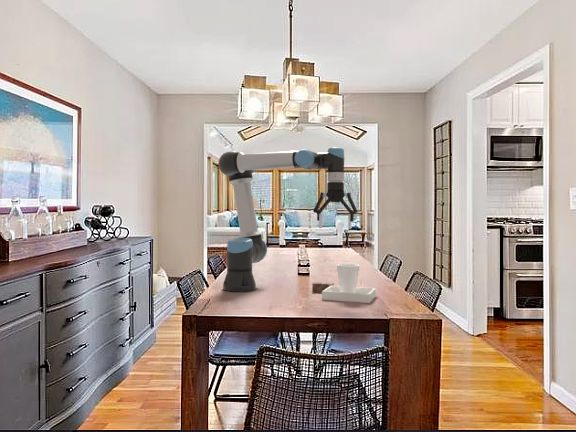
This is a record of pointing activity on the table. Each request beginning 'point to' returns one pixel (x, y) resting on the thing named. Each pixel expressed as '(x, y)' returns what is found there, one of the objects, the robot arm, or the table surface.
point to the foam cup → (348, 277)
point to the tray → (349, 294)
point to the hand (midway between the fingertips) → (335, 228)
